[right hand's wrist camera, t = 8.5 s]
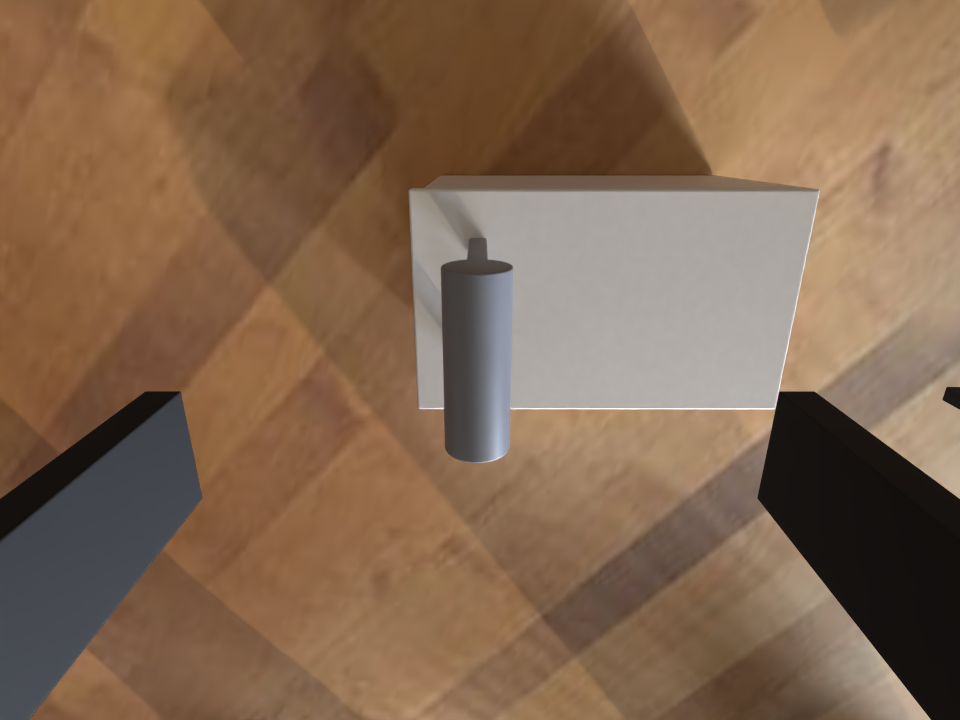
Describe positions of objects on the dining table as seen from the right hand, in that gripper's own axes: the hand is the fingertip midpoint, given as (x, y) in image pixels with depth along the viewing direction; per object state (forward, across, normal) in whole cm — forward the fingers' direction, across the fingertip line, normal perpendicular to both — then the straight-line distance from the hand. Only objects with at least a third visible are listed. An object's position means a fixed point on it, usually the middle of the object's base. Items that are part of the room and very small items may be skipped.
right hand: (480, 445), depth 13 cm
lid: (+12, -5, 0) cm, 13 cm away
